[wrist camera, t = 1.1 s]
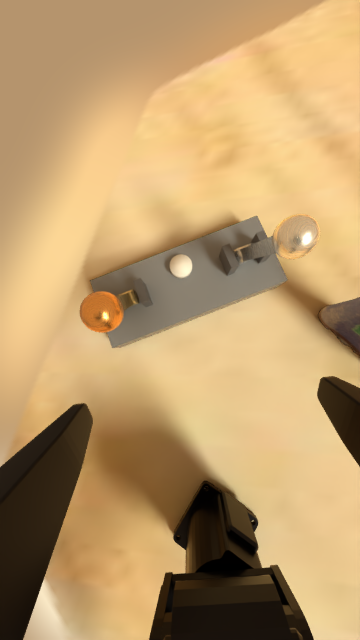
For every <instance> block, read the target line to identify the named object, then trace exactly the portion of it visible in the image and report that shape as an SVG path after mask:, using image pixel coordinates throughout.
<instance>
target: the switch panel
mask: <svg viewBox="0 0 360 640" xmlns="http://www.w3.org/2000/svg"><path fill="white" fill-rule="evenodd" d="M266 238H268V237H267V235H266V233H265V231H264V229H263V227H262V225H261V223H260V221H259V219H258V217H257V216H255V217H252V218H250V219H247V220H244V221H242V222H239V223H237V224H234V225H232V226H229V227H226V228H224V229H221V230H219V231H216V232H214V233H211V234H208V235H206V236H203V237H201V238H198V239H196V240H193V241H190V242H188V243H185V244H183V245H180V246H178V247H175V248H172V249H170V250H167V251H165V252H162V253H160V254H157V255H155V256H152V257H149V258H147V259H144V260H142V261H139V262H137V263H134V264H131V265H129V266H126V267H124V268H121V269H119V270H116V271H113V272H111V273H108V274H106V275H103V276H101V277H98V278H95V279H93V280H90V282H91V285H92V288H93V291H94V292H99V291H104V292H109V293H111V294H113V295H115V296H116V295H119V294H121V293H124V292H126V291H129V290H131V289H134V290H135V292H136V293H137V296H138V298H139V302H140V303H139V304H136V305H134V306H131V307H129V308H127V309H126V310H125V311H124V317H123V320H122V322H121V323H120V325H119V326H118V327H117V328H115V329H114V330H112V331H109V332H107V334H108V337H109V340H110V343H111V346H112V348H121V347H123V346H126V345H128V344H131V343H134V342H136V341H139V340H141V339H144V338H146V337H149V336H152V335H154V334H157V333H159V332H162V331H165V330H167V329H170V328H172V327H175V326H178V325H180V324H183V323H185V322H188V321H191V320H193V319H196V318H198V317H201V316H203V315H206V314H209V313H211V312H214V311H216V310H219V309H222V308H224V307H227V306H229V305H232V304H235V303H237V302H240V301H242V300H245V299H248V298H250V297H253V296H255V295H258V294H260V293H263V292H266V291H268V290H271V289H273V288H276V287H278V286H280V285H281V284H283V283H284V282H286V281H287V280H288V279H287V277H286V275H285V273H284V271H283V269H282V267H281V265H280V262H279V260H278V258H277V256H276V254H271V255H267V256H263V257H259V258H255V259H252V260H250V261H247V262H245V263H242V264H239V263H238V261H237V259H236V257H235V255H234V252H233V250H234V249H237V248H240V247H242V246H245V245H247V244H250V243H257V242H259V241H262V240H264V239H266Z"/></svg>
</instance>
